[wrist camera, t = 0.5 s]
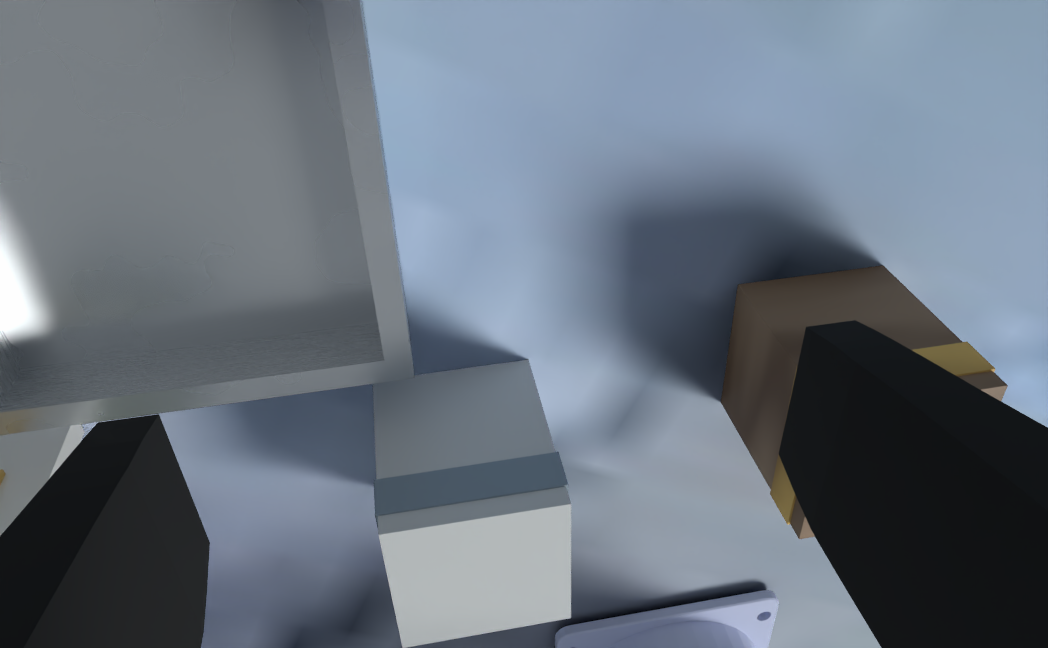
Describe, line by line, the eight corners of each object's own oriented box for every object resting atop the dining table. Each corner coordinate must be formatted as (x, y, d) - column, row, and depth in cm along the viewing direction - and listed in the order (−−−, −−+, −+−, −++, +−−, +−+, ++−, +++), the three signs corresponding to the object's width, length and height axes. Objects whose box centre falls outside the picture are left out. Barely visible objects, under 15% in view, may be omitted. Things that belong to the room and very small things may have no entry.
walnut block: (852, 382, 24) (956, 513, 20) (718, 403, 23) (797, 541, 19) (884, 262, 21) (1010, 383, 17) (735, 282, 21) (829, 410, 17)
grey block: (534, 468, 23) (573, 618, 19) (391, 491, 23) (400, 650, 19) (530, 357, 21) (573, 501, 17) (370, 378, 20) (375, 533, 16)
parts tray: (409, 331, 20) (414, 378, 18) (7, 384, 18) (-21, 438, 17) (346, -101, 14) (347, -83, 13) (-231, -63, 13) (-303, -40, 12)
